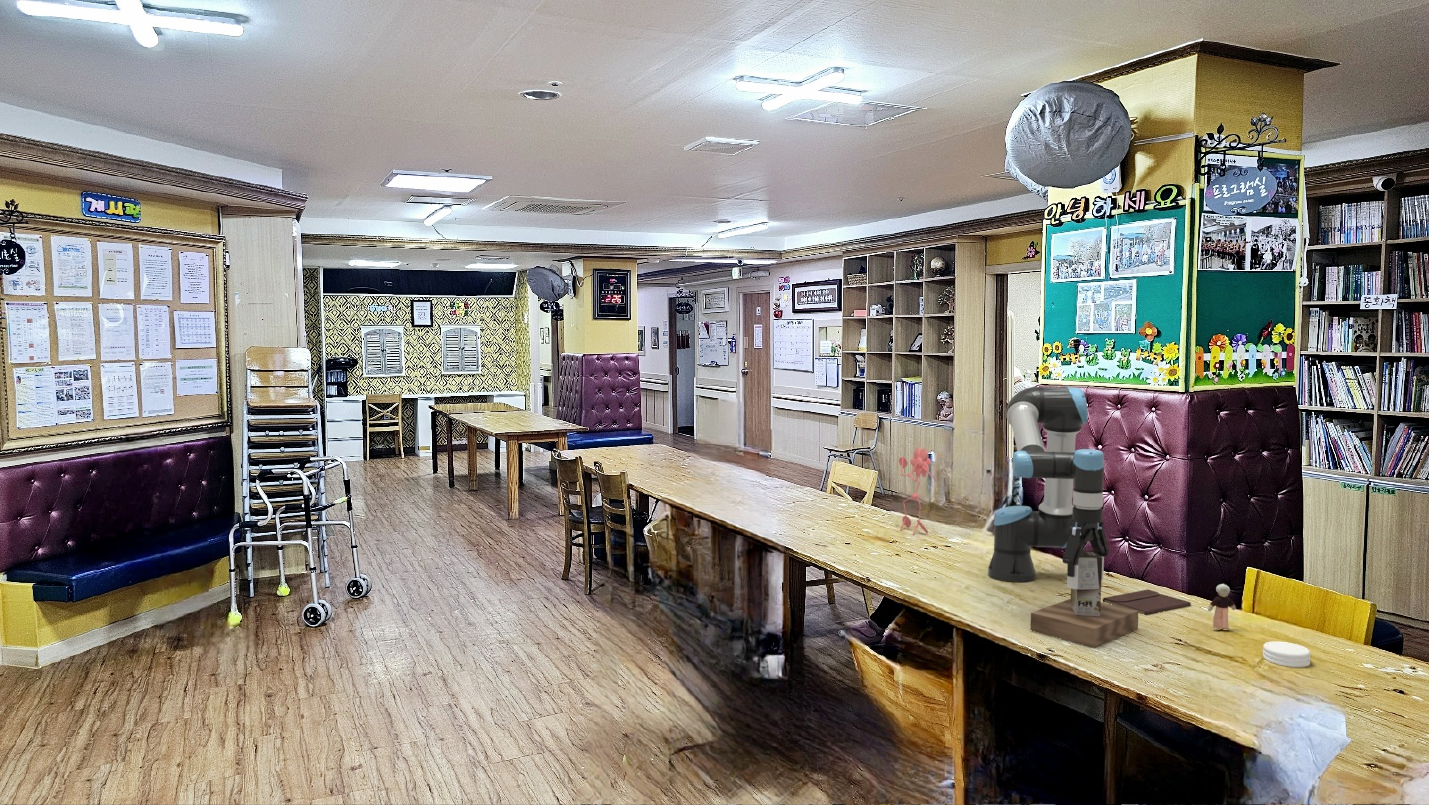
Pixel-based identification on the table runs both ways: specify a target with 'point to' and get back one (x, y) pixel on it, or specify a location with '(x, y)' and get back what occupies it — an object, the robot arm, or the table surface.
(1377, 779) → the table surface
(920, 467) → the figurine
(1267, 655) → the white round tin
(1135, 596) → the notebook
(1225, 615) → the grandmother figurine
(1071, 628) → the walnut step
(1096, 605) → the coffee box
